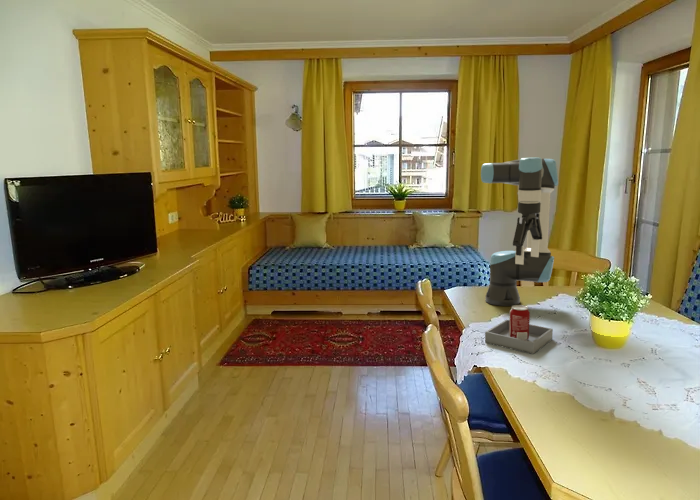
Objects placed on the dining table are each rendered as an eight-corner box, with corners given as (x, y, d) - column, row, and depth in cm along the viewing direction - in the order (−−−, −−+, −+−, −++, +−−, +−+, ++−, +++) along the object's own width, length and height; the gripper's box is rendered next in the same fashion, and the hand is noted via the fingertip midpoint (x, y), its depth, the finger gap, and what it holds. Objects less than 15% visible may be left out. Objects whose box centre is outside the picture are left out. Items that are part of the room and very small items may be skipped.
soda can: (529, 343, 171) (531, 310, 168) (509, 342, 172) (510, 309, 170) (527, 336, 177) (528, 304, 175) (507, 335, 178) (508, 304, 176)
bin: (506, 329, 187) (506, 319, 186) (552, 339, 175) (552, 328, 175) (485, 342, 174) (485, 331, 173) (533, 354, 163) (533, 342, 162)
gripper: (532, 197, 183) (530, 252, 188) (503, 205, 165) (502, 265, 170) (553, 198, 178) (550, 255, 183) (525, 206, 161) (523, 268, 165)
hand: (527, 260), depth 176 cm, fingers open, 13 cm apart
